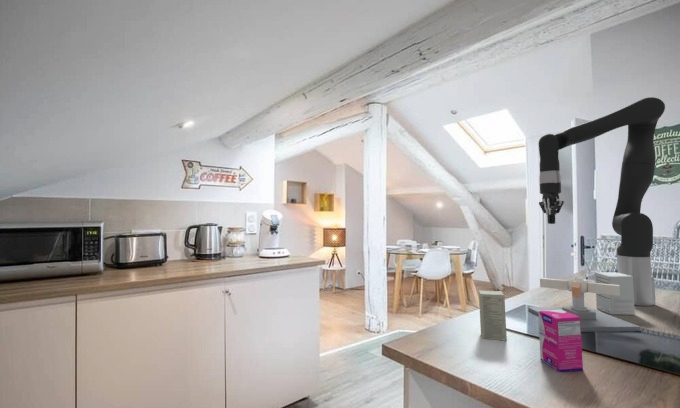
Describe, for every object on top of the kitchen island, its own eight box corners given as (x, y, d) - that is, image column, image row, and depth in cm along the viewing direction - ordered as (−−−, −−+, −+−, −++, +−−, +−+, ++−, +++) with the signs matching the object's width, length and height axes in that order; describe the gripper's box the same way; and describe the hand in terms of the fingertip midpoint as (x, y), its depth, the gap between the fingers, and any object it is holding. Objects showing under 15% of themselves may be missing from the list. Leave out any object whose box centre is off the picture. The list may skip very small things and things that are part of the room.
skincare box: (504, 335, 89) (503, 291, 90) (507, 341, 85) (505, 294, 85) (479, 333, 91) (478, 289, 92) (481, 338, 87) (479, 293, 88)
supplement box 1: (539, 360, 74) (537, 309, 74) (563, 359, 74) (561, 308, 75) (558, 372, 68) (556, 317, 68) (584, 371, 69) (582, 316, 69)
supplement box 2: (618, 308, 112) (616, 272, 113) (635, 315, 105) (633, 276, 105) (595, 308, 113) (594, 272, 114) (611, 314, 106) (609, 275, 106)
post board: (586, 310, 111) (585, 284, 111) (640, 330, 91) (639, 299, 91) (528, 310, 111) (527, 285, 111) (569, 331, 91) (568, 300, 91)
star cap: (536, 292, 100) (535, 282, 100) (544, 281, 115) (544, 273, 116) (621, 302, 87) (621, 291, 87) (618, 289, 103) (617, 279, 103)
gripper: (531, 184, 142) (533, 223, 142) (551, 180, 129) (552, 224, 128) (548, 183, 142) (550, 223, 142) (570, 180, 129) (571, 224, 128)
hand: (551, 223), depth 135 cm, fingers closed
